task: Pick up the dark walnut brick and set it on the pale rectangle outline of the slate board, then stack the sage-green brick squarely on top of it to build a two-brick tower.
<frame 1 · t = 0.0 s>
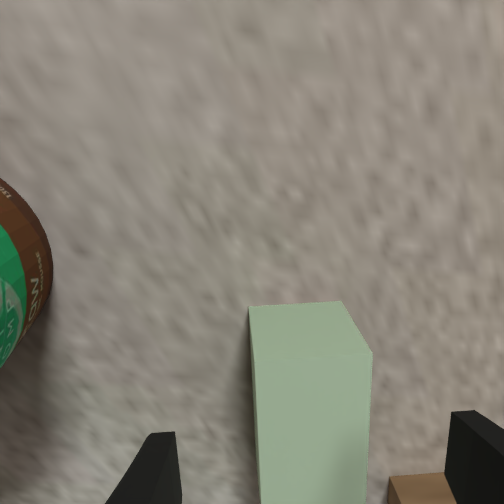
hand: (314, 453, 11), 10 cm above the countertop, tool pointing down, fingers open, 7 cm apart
food container: (11, 269, 20), on the countertop
green brick: (295, 382, 23), on the countertop
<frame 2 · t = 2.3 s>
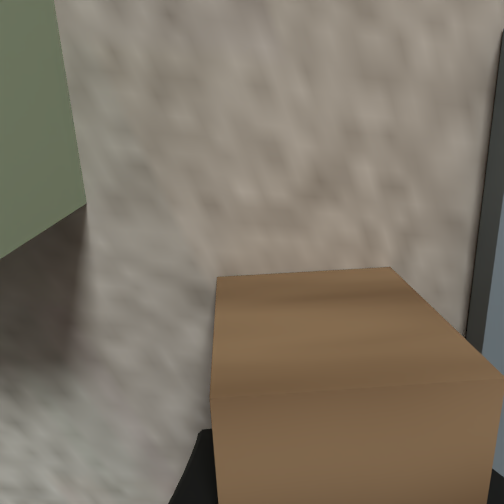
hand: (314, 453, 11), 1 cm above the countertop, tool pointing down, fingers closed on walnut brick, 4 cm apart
walnut brick: (305, 417, 13), on the countertop, touching gripper
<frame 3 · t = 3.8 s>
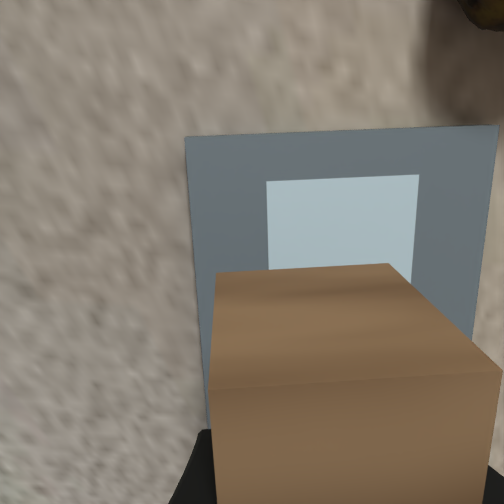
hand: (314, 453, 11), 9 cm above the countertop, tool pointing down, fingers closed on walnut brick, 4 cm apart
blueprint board: (335, 294, 19), on the countertop
walnut brick: (303, 413, 13), point 7 cm above the countertop, touching gripper
when the fingers open (3 cm above the countertop, at t = 5.4 s): walnut brick drops 1 cm, resting on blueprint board.
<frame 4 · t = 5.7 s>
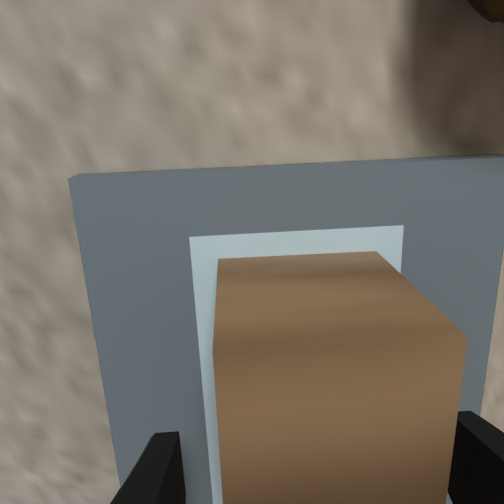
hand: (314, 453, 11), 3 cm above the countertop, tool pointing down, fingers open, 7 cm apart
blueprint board: (295, 377, 15), on the countertop
walnut brick: (298, 390, 14), point 1 cm above the countertop, touching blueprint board
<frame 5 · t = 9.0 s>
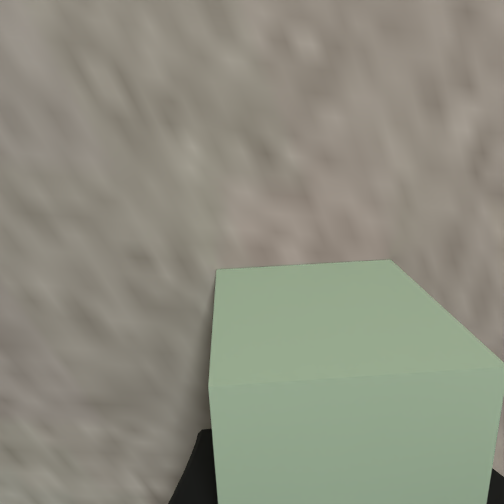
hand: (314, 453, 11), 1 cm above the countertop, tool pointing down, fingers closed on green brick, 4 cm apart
green brick: (304, 411, 13), on the countertop, touching gripper
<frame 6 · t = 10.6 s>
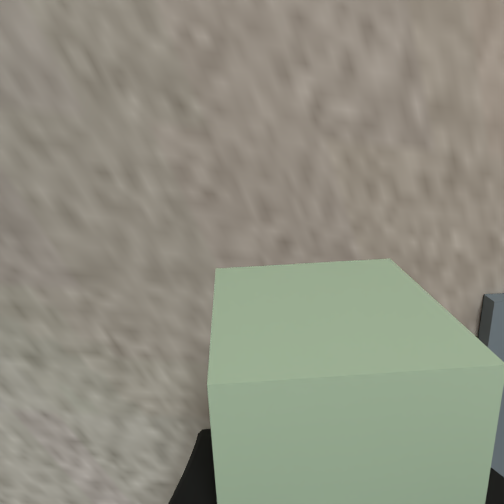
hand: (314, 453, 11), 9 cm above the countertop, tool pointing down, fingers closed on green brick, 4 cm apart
green brick: (304, 410, 13), point 7 cm above the countertop, touching gripper
when the fingers open (8 cm above the countertop, at t = 12.6 s): green brick stays where it is, resting on walnut brick.
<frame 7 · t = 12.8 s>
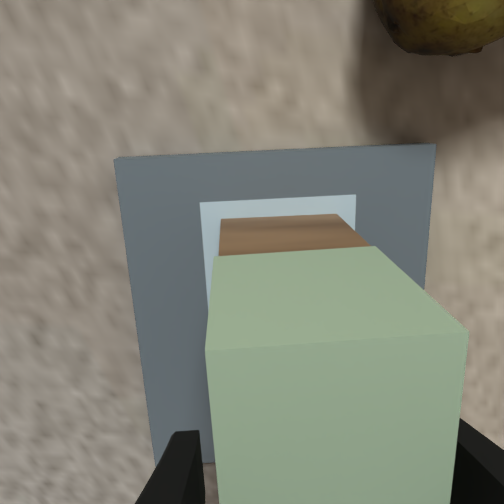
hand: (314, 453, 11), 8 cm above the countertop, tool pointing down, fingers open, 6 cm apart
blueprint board: (279, 313, 19), on the countertop
green brick: (298, 389, 14), point 6 cm above the countertop, touching walnut brick
walnut brick: (280, 321, 18), point 1 cm above the countertop, touching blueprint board, green brick
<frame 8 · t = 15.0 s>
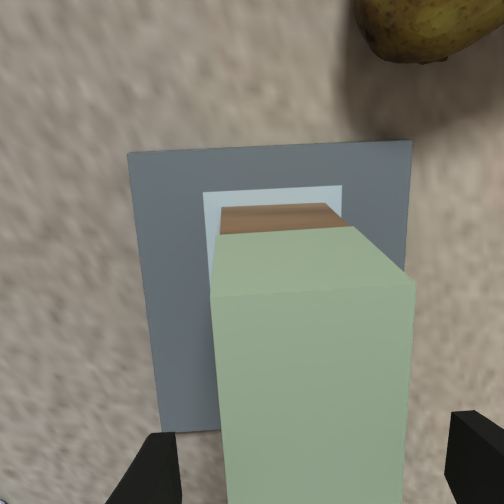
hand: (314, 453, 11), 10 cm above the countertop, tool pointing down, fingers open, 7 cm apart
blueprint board: (274, 293, 21), on the countertop
green brick: (288, 352, 16), point 6 cm above the countertop, touching walnut brick
walnut brick: (275, 299, 20), point 1 cm above the countertop, touching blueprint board, green brick
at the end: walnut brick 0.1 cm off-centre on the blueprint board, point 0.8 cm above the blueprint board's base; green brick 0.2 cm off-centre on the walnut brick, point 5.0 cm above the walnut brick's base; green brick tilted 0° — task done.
